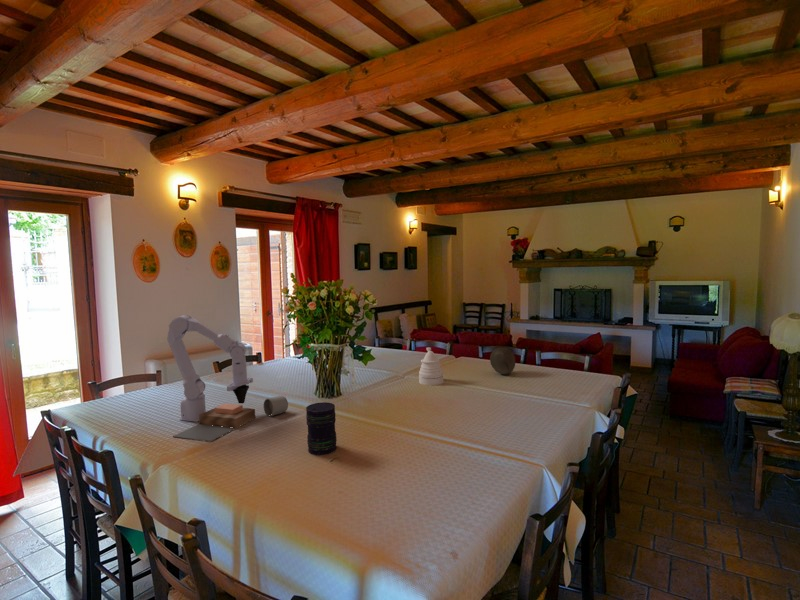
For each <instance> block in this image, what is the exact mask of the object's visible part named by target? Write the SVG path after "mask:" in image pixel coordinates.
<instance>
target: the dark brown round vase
mask: <svg viewBox="0 0 800 600" xmlns="http://www.w3.org/2000/svg"><path fill="white" fill-rule="evenodd" d="M489 361H490V362H489V363H490V365H491V368H493V370H494V371H495V372H497V373H498V374H500V375H505V376H506V375H509V374H511V373H512V372H514V369H515V368H516V367H515V366H516V357H515V354H514V352H512V350H511V349H510V348H507V347H497V348H495V349H493V351H492V352H491V353H490V357H489Z"/></svg>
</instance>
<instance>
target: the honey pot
mask: <svg viewBox="0 0 800 600" xmlns="http://www.w3.org/2000/svg"><path fill="white" fill-rule="evenodd" d="M425 348H426V351H427V352H426V353H425V355H424V358H422V359H420V362H421V365H420V369H419V372H418V382H419V384H420V385H422V386H423V385H425V386H438V385H441V384H444V371H443V368H442V366H441V363H440V359H439V358H438V357H437V355H436V354H435V353H434V351H432V347H425Z"/></svg>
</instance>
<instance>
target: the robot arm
mask: <svg viewBox="0 0 800 600" xmlns="http://www.w3.org/2000/svg"><path fill="white" fill-rule="evenodd" d="M168 327H169V328H168V332H167V333H168V334H167V338H166V340H167V344H168V345H169V347H170V350H171V353H172V355H173V357H174V360H175V363H176V365H177V366H178V369H179V372H180V375H181V377H182V380H183V382H182V386H183V388H184V389H183V390H184V391H183V395H184V396H185V397H183V398H182V400H181V401H180V405H179V407H180V416H181V417H180V419H179V420H180V421H186V422H187V421H188V422H195V423H196V422H197V423H198V422H199V415H200V414H202V413H205V412H207V409H206V395H205V394H204V392H205V391H206V383H205V381H203V380H202V379H201V378H200V376H199V375H198V374H197V373H196V370H195V367H194V365H193V363H192V361H191V359H190V355H189V353H188V350H187V349H186V346H185V343H184V341H183V338H184V336H185V334H186V332H195V333H196V332H197V333H199V334H201V335H202V336H204V337H206V338H208V339H209V340H212V341H213V343H214V346H216V347H217V348H219V349H221V350H222V351H224V352H226V353H228V354H229V356H230V357H231V361H232V362H231V368H232V382H231V384H229V385H227V386H226V391H227V392H233V393H234V395H235V396H236V399H237V402H238V404H245V400H246V396H247V393H248V390H249V388H250V386H249V384H251V383H254V378H253V377H248V374H247V373H248V372H247V371H248V370H247V360H246V353H247V347H246V346H245V344H244V343H242V342H239V341H238V340H235V339H233V338H231V337H229V336H230V335H229V334H227V333H220V334H219V333H217V332H216V331H214V330H213V329H211V328H210V327H208V325H205V324H204V323H202V322H200V321H199V320H198V319H196V318H195V317H192V316H190V315H189V314H182V315H180V316H176V317H174V318H173V319H172V320H171V322H170V323H169V325H168Z"/></svg>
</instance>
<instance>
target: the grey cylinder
mask: <svg viewBox="0 0 800 600" xmlns="http://www.w3.org/2000/svg"><path fill="white" fill-rule="evenodd" d="M288 407H289V402H288V400H287V398H286V396H284V395H278V396H272V397H267V398H266V399H265V400H263V410H264V414H265V415H266V416H267V415H268V416H267V417H269V415H270V417H273V416H276V415H279V414H283V413H286V411H287V410H288ZM271 414H272V415H271Z"/></svg>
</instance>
